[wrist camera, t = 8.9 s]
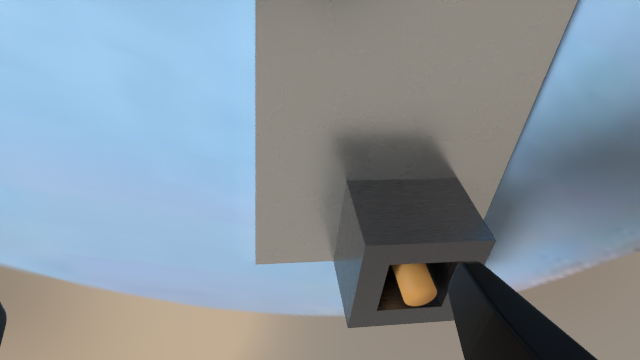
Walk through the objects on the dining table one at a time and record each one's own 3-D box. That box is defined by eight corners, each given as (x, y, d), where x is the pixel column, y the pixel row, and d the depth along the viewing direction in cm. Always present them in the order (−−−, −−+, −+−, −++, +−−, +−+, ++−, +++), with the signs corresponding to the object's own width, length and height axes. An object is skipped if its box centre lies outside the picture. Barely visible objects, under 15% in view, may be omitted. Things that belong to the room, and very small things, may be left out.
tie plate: (643, -183, 15) (734, -184, 12) (465, 247, 28) (490, 294, 25) (255, -234, 13) (258, -249, 10) (255, 256, 26) (257, 308, 23)
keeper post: (409, 210, 24) (440, 283, 21) (403, 231, 25) (432, 305, 22) (380, 211, 24) (407, 285, 20) (375, 232, 25) (400, 307, 21)
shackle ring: (457, 178, 23) (495, 240, 20) (430, 256, 27) (458, 319, 24) (346, 180, 22) (365, 245, 19) (333, 260, 26) (347, 327, 23)
